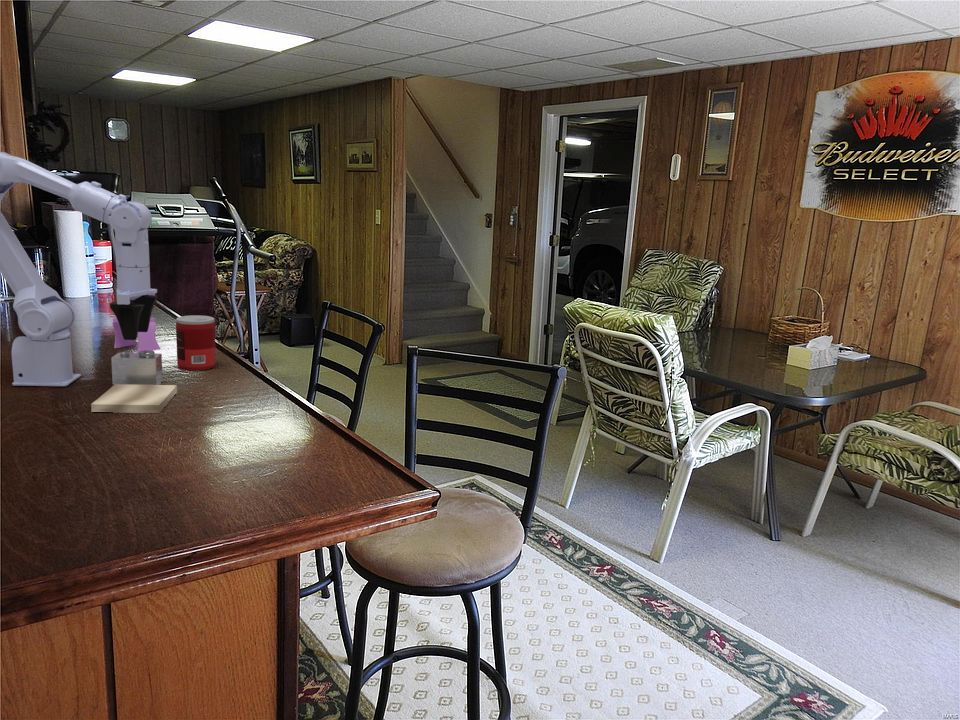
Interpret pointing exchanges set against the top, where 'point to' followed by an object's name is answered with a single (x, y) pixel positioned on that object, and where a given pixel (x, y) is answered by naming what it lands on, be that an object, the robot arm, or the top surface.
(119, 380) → the housing
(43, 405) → the top surface
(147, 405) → the stand
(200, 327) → the canned food
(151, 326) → the toy chair
